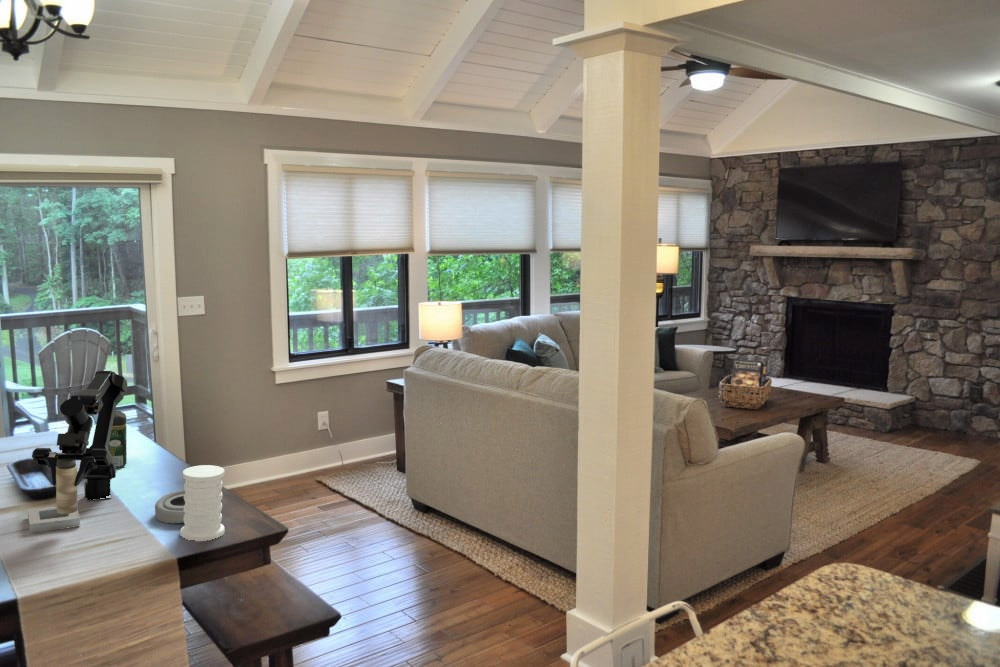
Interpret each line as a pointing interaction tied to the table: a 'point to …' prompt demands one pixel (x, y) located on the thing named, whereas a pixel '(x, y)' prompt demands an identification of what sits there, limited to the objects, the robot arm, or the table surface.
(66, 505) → the tan bottle
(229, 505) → the table surface
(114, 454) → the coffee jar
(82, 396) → the robot arm
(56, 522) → the housing plate
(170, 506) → the turbocharger housing
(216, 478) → the decorative container
